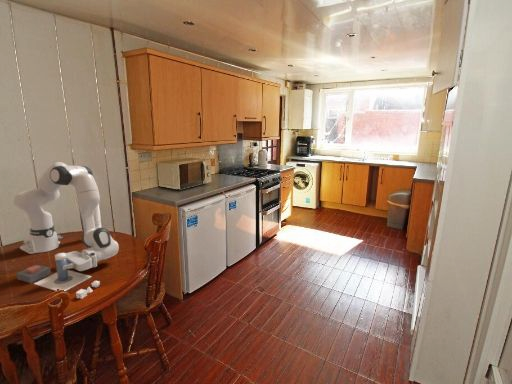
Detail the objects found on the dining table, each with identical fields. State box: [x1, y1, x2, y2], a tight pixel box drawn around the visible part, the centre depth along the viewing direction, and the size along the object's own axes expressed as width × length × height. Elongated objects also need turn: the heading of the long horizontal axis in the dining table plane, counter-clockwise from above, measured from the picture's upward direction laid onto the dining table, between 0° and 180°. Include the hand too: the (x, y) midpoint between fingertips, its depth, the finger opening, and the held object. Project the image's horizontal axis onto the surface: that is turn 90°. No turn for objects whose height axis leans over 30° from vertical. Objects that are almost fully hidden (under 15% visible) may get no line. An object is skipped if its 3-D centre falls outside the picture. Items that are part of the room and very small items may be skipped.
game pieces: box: [75, 280, 101, 300], centre depth 136 cm, size 12×3×3 cm, turn 168°
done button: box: [26, 264, 41, 274], centre depth 147 cm, size 4×4×3 cm
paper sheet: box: [33, 269, 92, 292], centre depth 145 cm, size 20×16×1 cm
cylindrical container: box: [93, 203, 102, 229], centre depth 197 cm, size 7×7×25 cm
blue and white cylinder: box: [54, 252, 69, 280], centre depth 143 cm, size 5×5×13 cm
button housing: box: [16, 264, 52, 284], centre depth 147 cm, size 10×10×4 cm
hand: (59, 266), depth 142 cm, fingers closed on blue and white cylinder, 4 cm apart
